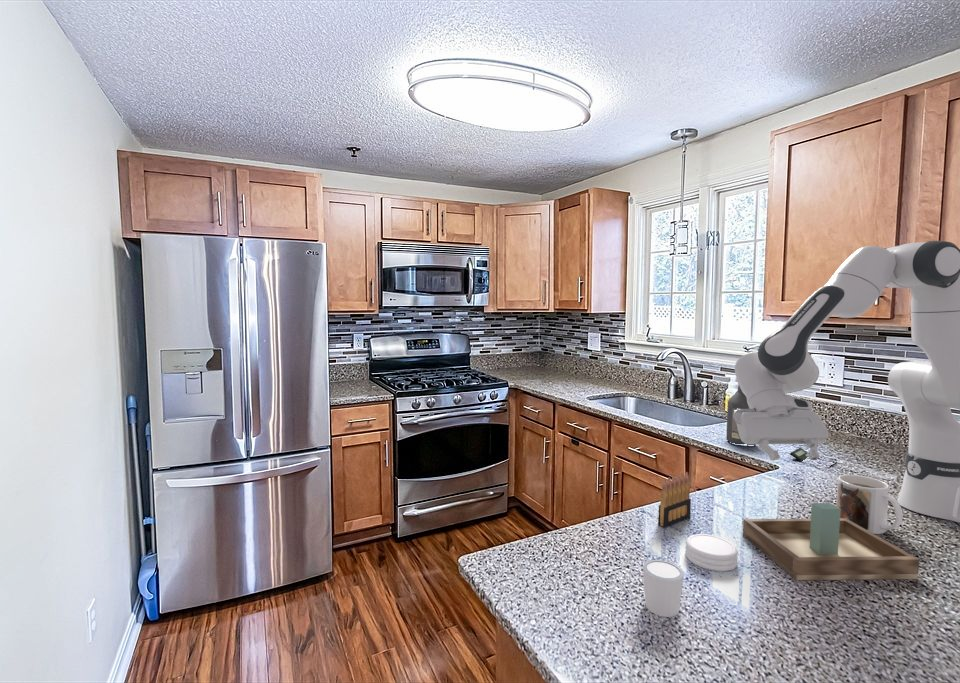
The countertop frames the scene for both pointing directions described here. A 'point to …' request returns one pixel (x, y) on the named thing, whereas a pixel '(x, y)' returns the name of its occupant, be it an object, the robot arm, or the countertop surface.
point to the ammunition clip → (674, 501)
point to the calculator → (799, 454)
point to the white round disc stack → (711, 552)
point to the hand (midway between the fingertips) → (795, 458)
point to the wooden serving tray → (854, 560)
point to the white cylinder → (662, 587)
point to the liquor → (733, 404)
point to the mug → (866, 503)
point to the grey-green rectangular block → (824, 528)
